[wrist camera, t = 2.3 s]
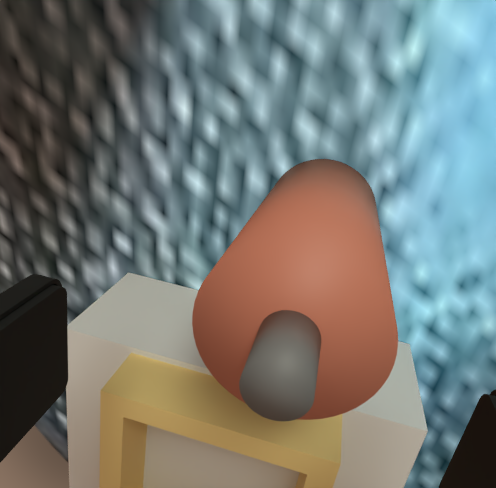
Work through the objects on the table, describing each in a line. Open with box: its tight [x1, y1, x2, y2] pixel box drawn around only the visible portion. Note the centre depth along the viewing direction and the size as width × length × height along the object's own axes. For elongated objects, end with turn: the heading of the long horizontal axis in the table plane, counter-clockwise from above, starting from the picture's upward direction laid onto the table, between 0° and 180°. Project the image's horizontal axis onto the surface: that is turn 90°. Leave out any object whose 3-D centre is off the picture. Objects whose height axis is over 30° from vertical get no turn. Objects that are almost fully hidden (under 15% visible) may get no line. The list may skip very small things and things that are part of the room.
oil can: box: [192, 159, 398, 421], centre depth 15 cm, size 5×5×13 cm
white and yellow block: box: [66, 273, 428, 488], centre depth 22 cm, size 16×12×8 cm
